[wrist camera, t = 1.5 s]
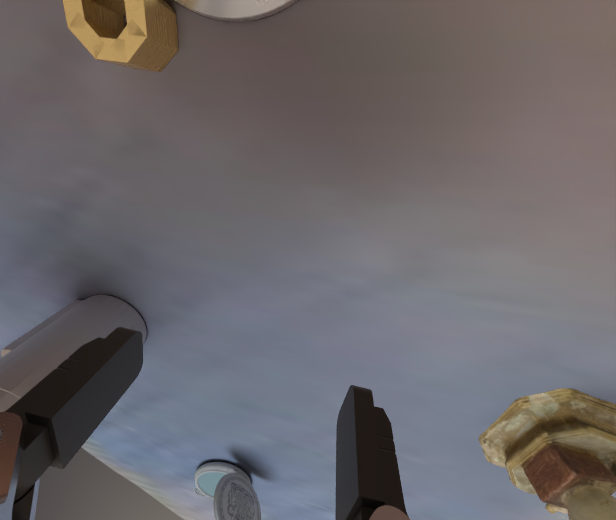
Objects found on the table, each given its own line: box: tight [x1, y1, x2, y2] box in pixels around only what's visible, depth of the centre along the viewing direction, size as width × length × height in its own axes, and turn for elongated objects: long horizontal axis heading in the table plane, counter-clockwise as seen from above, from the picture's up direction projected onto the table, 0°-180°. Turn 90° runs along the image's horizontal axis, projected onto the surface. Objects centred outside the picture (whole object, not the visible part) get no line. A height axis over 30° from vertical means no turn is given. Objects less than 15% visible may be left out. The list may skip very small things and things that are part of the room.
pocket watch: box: [194, 462, 261, 520], centre depth 47 cm, size 10×11×15 cm
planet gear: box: [63, 0, 178, 72], centre depth 23 cm, size 6×6×4 cm
